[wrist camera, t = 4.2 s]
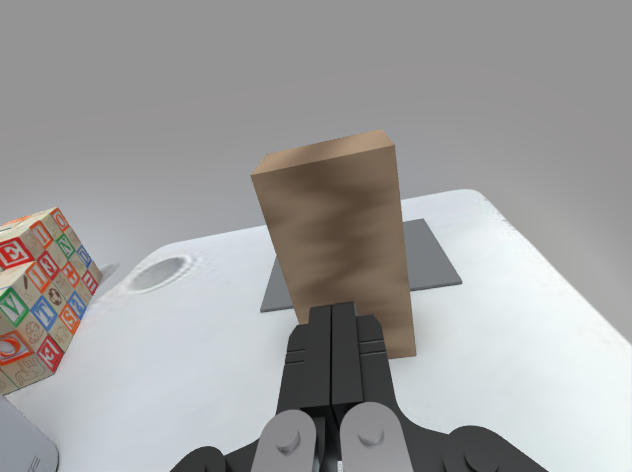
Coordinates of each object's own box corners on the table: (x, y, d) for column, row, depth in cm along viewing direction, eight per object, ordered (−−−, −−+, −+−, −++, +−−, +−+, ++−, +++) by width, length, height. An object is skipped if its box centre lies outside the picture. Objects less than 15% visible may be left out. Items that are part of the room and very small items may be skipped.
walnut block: (313, 367, 24) (250, 175, 17) (316, 322, 29) (267, 154, 22) (416, 355, 23) (394, 144, 16) (403, 310, 28) (381, 129, 21)
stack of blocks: (57, 375, 31) (-34, 275, 25) (-17, 406, 29) (-131, 306, 24) (103, 275, 49) (57, 204, 43) (60, 291, 47) (6, 220, 42)
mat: (260, 312, 32) (260, 310, 32) (280, 245, 44) (280, 243, 44) (462, 283, 29) (462, 281, 29) (423, 220, 41) (423, 218, 41)
